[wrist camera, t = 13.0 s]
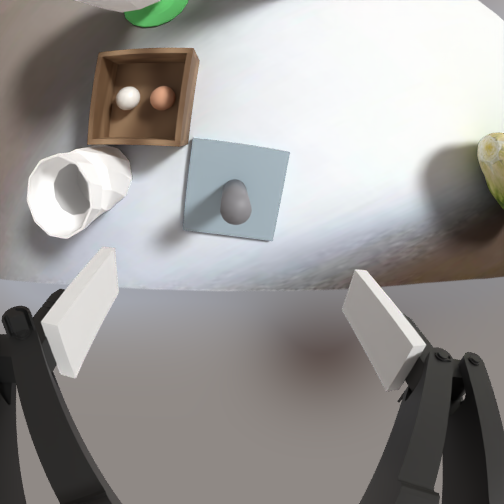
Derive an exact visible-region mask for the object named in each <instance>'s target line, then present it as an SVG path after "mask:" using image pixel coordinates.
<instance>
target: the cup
mask: <svg viewBox="0 0 504 504" xmlns="http://www.w3.org/2000/svg"><path fill="white" fill-rule="evenodd" d="M74 1H78V2H82V3H86V4H89V5H93V6H96V7H100V8H103V9H106V10H112V11H117V12H124V14H125V18H126V19H127V20H128V21H129V22H131V23H132V24H133V25H136V26H140V27H153V26H159V25H161V24H164V23H166V22H169V21H171V20H172V19H173V18H175V17H176V16H177V15H178V14H180V13H181V12H182V10H183V9H184V7H185V6H186V4H187V3H188V0H74Z"/></svg>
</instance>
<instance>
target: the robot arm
mask: <svg viewBox="0 0 504 504" xmlns="http://www.w3.org/2000/svg"><path fill="white" fill-rule="evenodd" d="M118 293H119V289H118V279H117V268H116V254H115V248H110V247H102V248H101V249H100V250H99V251H98V252H97V253H96V254H95V256H94V257H93V258H92V259H91V260H90V261H89V262H88V263H87V265H86V266H85V267H84V268H83V269H82V270H81V272H80V273H79V274H78V275H77V276H76V278H75V279H74V280H73V281H72V282H71V284H70V285H69V286H68V287H67V289H66V290H64V289H59V290H57V291H56V292H54V293H53V294H51V296H50V297H49V298H48V299H47V301H46V302H45V303H44V304H43V306H42V307H41V308H40V309H39V310H38V312H37V313H36V314H35V316H34V317H33V318H32V315H31V312H30V310H29V309H28V308H27V307H25V306H16V307H13V308H10V309H9V310H7V311H6V312H5V313H4V315H3V316H2V323H3V325H4V328H5V330H6V333H7V334H2V335H1V334H0V504H26V500H25V495H24V490H23V484H22V478H21V472H20V465H19V457H18V447H17V431H16V385H17V389H18V393H19V397H20V401H21V405H22V409H23V412H24V416H25V419H26V422H27V425H28V429H29V432H30V435H31V438H32V440H33V443H34V446H35V449H36V451H37V454H38V456H39V459H40V462H41V464H42V466H43V468H44V471H45V473H46V476H47V478H48V480H49V482H50V484H51V486H52V488H53V490H54V492H55V494H56V496H57V498H58V500H59V502H60V504H122V503H121V502H120V500H119V499H118V498H117V496H116V495H115V493H114V492H113V490H112V489H111V487H110V486H109V484H108V483H107V481H106V480H105V478H104V476H103V475H102V473H101V472H100V470H99V469H98V467H97V465H96V463H95V462H94V460H93V458H92V456H91V454H90V453H89V451H88V449H87V447H86V445H85V443H84V442H83V439H82V438H81V436H80V433H79V432H78V429H77V427H76V425H75V423H74V421H73V419H72V417H71V415H70V412H69V410H68V408H67V405H66V403H65V401H64V398H63V396H62V393H61V391H60V388H59V386H58V383H57V380H56V378H55V375H54V373H53V370H54V368H55V366H56V365H57V367H58V370H59V372H60V374H62V375H65V376H69V377H73V378H76V377H77V374H78V372H79V370H80V368H81V366H82V363H83V361H84V359H85V357H86V355H87V353H88V351H89V349H90V347H91V345H92V343H93V341H94V338H95V337H96V335H97V333H98V331H99V329H100V327H101V325H102V323H103V321H104V319H105V317H106V315H107V313H108V311H109V309H110V307H111V306H112V304H113V302H114V300H115V299H116V297H117V295H118ZM342 311H343V313H344V315H345V316H346V318H347V320H348V322H349V323H350V325H351V327H352V329H353V331H354V332H355V334H356V336H357V338H358V340H359V341H360V343H361V345H362V347H363V349H364V351H365V352H366V354H367V356H368V358H369V360H370V362H371V364H372V366H373V367H374V369H375V371H376V373H377V375H378V377H379V379H380V381H381V383H382V384H383V387H384V389H385V390H386V392H387V391H392V390H399V389H400V387H401V386H402V384H403V383H404V381H406V382H407V384H408V387H407V389H406V390H405V391H404V393H403V394H402V396H401V397H400V398H399V400H398V402H400V401H401V400H402V402H401V405H400V409H399V411H398V414H397V418H396V420H395V424H394V426H393V429H392V432H391V434H390V437H389V440H388V442H387V445H386V447H385V450H384V452H383V455H382V457H381V460H380V462H379V464H378V466H377V469H376V471H375V473H374V475H373V478H372V480H371V482H370V484H369V486H368V488H367V490H366V492H365V494H364V496H363V498H362V500H361V501H360V503H359V504H439V499H440V496H439V493H436V492H434V485H435V481H436V478H437V474H438V470H439V466H440V461H441V457H442V454H443V490H442V504H504V431H503V426H502V422H501V418H500V414H499V410H498V406H497V402H496V399H495V395H494V392H493V389H492V386H491V382H490V380H489V376H488V373H487V370H486V368H485V365H484V362H483V360H482V359H481V358H480V357H479V356H478V355H477V354H475V353H471V352H467V353H465V355H464V356H463V358H462V359H461V360H456V359H453V358H452V357H451V355H450V354H449V353H448V352H447V351H445V350H443V349H441V348H433V347H432V345H431V344H430V343H429V341H428V340H427V339H426V337H425V336H424V335H423V334H422V332H420V330H419V328H418V327H416V325H415V323H414V322H413V321H412V320H411V319H410V318H409V317H407V316H406V315H404V314H402V313H401V312H400V310H399V309H398V308H397V307H396V306H395V304H394V303H393V302H392V301H391V299H390V298H389V297H388V296H387V294H386V293H385V292H384V291H383V290H382V289H381V287H380V286H379V285H378V284H377V282H376V281H375V280H374V279H373V278H372V277H371V275H370V274H369V273H368V272H367V271H366V270H356V269H355V271H354V274H353V277H352V280H351V283H350V286H349V289H348V293H347V296H346V298H345V301H344V304H343V307H342ZM465 393H466V395H465V399H464V401H463V395H464V394H465Z"/></svg>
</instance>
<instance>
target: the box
mask: <svg viewBox="0 0 504 504" xmlns="http://www.w3.org/2000/svg"><path fill="white" fill-rule="evenodd" d="M198 67H199V59H198V57H197V54H196V52H195V50H194V48H144V49H128V50H116V51H107V52H99V54H98V59H97V65H96V70H95V76H94V83H93V90H92V97H91V106H90V115H89V126H88V141H87V145H96V144H127V145H160V146H178V147H180V146H183V145H186V144H188V140H189V131H190V122H191V115H192V107H193V100H194V93H195V86H196V79H197V73H198ZM161 86H167V87H170V88H171V89H172V90H173V91H174V93H175V97H176V98H175V102H174V104H173V105H172V106H171V107H170V108H169V109H167V110H157V109H155V108H154V107H153V106H152V105H151V103H150V96H151V94H152V92H153V91H154V90H155V89H156V88H158V87H161ZM125 87H134V88H136V89H137V90H138V91H139V93H140V101H139V103H138V105H137V106H136V107H135V108H133V109H131V110H122V109H120V108H119V107H118V106H117V104H116V96H117V94H118V92H119V91H120V90H121V89H123V88H125Z"/></svg>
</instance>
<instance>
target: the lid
mask: <svg viewBox="0 0 504 504" xmlns="http://www.w3.org/2000/svg"><path fill="white" fill-rule="evenodd" d="M289 155H290V152H288V151H282V150H277V149H271V148H265V147H259V146H253V145H246V144H240V143H232V142H225V141H217V140H209V139H200V138H193V142H192V149H191V157H190V165H189V173H188V182H187V191H186V200H185V210H184V221H183V230H187V231H196V232H204V233H212V234H220V235H228V236H236V237H244V238H252V239H260V240H268V241H273V237H274V232H275V227H276V222H277V217H278V212H279V207H280V201H281V196H282V191H283V186H284V181H285V176H286V170H287V165H288V160H289Z"/></svg>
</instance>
